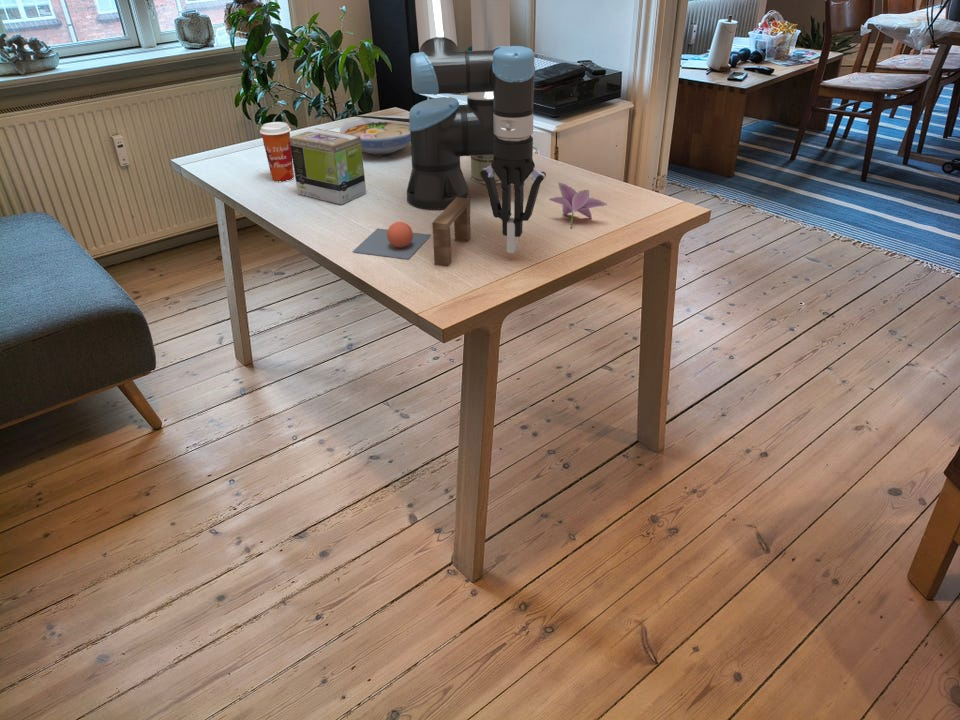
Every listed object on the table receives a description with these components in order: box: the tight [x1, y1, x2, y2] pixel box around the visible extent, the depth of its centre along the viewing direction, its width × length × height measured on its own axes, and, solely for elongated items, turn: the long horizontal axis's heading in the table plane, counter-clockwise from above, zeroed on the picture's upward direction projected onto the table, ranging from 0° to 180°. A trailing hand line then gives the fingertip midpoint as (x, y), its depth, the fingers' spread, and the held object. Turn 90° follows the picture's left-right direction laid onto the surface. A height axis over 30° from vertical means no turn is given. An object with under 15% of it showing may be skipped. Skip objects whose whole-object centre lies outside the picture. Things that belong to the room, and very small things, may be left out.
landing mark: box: [351, 228, 432, 261], centre depth 163 cm, size 13×13×1 cm
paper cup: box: [259, 121, 295, 183], centre depth 196 cm, size 8×8×14 cm
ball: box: [387, 221, 414, 248], centre depth 160 cm, size 6×6×6 cm
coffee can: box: [470, 155, 501, 185], centre depth 194 cm, size 10×10×14 cm
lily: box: [548, 182, 608, 230], centre depth 169 cm, size 12×12×10 cm
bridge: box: [431, 197, 472, 267], centre depth 157 cm, size 3×14×9 cm, turn 162°
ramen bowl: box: [339, 114, 411, 156], centre depth 216 cm, size 25×23×8 cm
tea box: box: [289, 127, 367, 205], centre depth 185 cm, size 15×10×15 cm, turn 57°
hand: (512, 249), depth 155 cm, fingers closed
